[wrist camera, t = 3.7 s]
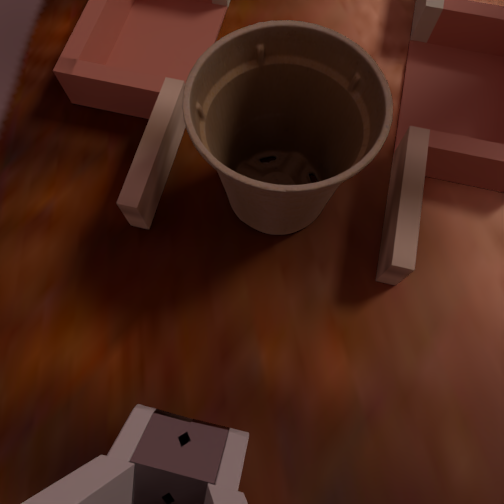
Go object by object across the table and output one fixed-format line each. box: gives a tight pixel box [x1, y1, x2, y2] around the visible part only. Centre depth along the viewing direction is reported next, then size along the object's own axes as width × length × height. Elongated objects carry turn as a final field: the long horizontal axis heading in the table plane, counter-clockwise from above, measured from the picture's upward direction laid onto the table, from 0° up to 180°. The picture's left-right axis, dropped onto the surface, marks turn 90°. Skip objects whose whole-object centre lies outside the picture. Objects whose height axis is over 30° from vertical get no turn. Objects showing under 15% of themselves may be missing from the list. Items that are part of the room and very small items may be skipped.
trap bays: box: [53, 0, 504, 193], centre depth 29 cm, size 12×30×3 cm, turn 77°
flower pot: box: [182, 20, 393, 235], centre depth 23 cm, size 9×9×9 cm
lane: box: [116, 77, 430, 286], centre depth 25 cm, size 9×16×3 cm, turn 77°
